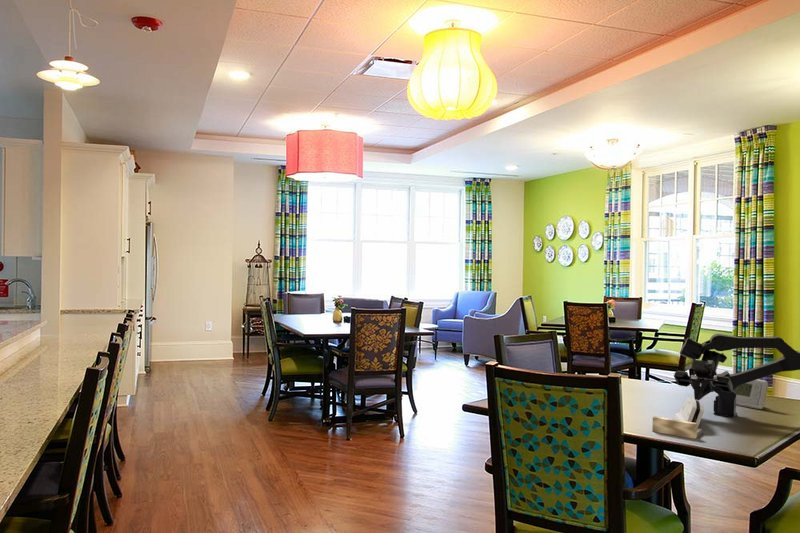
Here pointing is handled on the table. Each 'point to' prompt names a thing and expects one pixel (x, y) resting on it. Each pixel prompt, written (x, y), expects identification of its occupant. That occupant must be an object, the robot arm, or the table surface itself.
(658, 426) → the board
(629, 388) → the table surface
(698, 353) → the robot arm
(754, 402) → the digital clock
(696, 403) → the pale rounded upright slab
